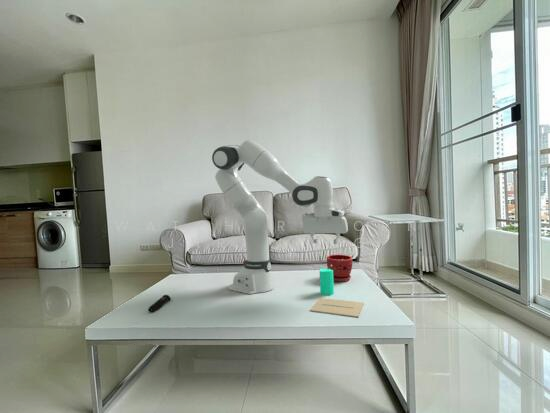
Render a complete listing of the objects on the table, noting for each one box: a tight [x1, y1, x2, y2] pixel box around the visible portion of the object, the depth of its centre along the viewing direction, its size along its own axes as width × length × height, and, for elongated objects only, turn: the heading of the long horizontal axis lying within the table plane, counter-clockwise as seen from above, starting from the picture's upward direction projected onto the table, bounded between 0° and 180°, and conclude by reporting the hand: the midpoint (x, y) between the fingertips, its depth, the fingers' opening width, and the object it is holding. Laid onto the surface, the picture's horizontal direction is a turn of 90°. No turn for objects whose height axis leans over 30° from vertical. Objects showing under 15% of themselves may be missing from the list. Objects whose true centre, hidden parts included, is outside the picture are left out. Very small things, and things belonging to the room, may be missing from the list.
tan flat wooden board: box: [309, 297, 365, 318], centre depth 110 cm, size 18×14×1 cm
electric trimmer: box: [147, 294, 172, 312], centre depth 119 cm, size 4×16×3 cm, turn 176°
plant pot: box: [326, 254, 353, 283], centre depth 147 cm, size 13×13×12 cm
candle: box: [318, 268, 335, 296], centre depth 126 cm, size 6×6×12 cm
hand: (325, 243), depth 126 cm, fingers open, 8 cm apart
